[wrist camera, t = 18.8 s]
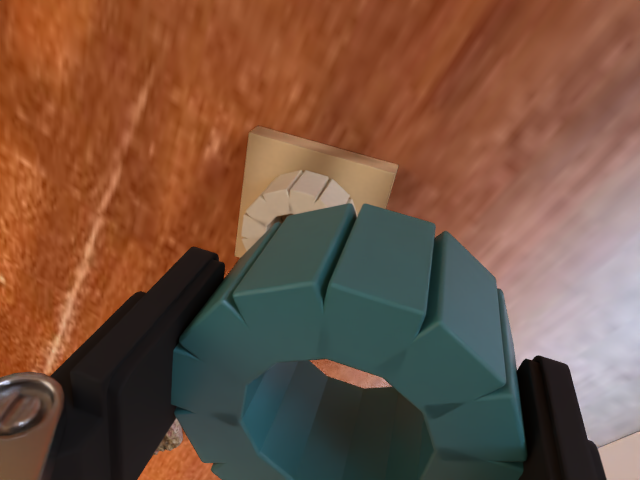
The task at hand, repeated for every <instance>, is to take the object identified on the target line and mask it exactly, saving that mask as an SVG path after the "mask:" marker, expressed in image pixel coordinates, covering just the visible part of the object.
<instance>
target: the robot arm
mask: <svg viewBox="0 0 640 480" xmlns="http://www.w3.org/2000/svg"><path fill="white" fill-rule="evenodd" d="M224 271H225V264H224V263H223V262H220V261H219V257H218V255H217V254H216V253H213V252H210V251H207V250H203V249H200V248H197V247H191V248H190V249H189V250H188V251H187V252H186V253H185V254H184V255H183V256H182V257H181V258H180V259H179V260H178V261H177V262H176V263H175V264H174V265H173V266H172V267H171V268H170V269H169V271H168V272H167V273H166V274H165V275H164V276H163V277H162V278H161V279H160V280H159V281H158V282H157V283H156V284H155V285H154V286H153V287H152V288H151V289H150V290H149V291H148V292H147V293H144V292H141V291H140V292H137V293H135V294H134V295H132V296H131V297H130V298H129V299H128V300H127V301H126V302H125V303H124V304H123V305H122V306H121V307H120V308H119V309H118V310H117V311H116V312H115V313H114V314H113V315H112V316H111V317H110V318H109V319H108V320H107V321H106V322H105V323H104V324H103V325H102V326H101V327H100V328H99V329H98V330H97V331H96V332H95V333H94V334H93V335H92V336H91V337H90V338H89V339H88V340H87V341H86V342H85V343H84V344H83V345H81V346H80V347H79V348H78V349H77V350H76V351H75V352H74V353H73V354H72V355H71V356H70V357H69V358H68V359H67V360H66V361H65V362H64V363H63V364H62V365H61V366H60V367H59V368H58V369H57V370H56V371H55V372H54V373H53V374H52V375H51V376H47V375H45V374H42V373H34V372H24V373H14V374H11V375H7V376H4V377H1V378H0V480H137V479H138V477H139V476H140V474H141V473H142V471H143V470H144V468H145V466H146V465H147V463H148V462H149V460H150V459H151V457H152V455H153V454H154V452H155V451H156V449H157V448H158V446H159V444H160V443H161V441H162V440H163V438H164V437H165V435H166V433H167V432H168V430H169V429H170V427H171V426H172V424H173V423H174V421H175V419H176V416H175V415H174V410H175V409H176V407H177V406H174V405H172V404H171V387H172V366H173V350H174V349H175V347H176V346H177V345H178V343H179V338H180V336H181V334H182V333H183V332H184V330H185V329H186V328H187V327H188V325H189V324H190V323H191V321H192V320H193V319H194V317H195V316H196V315H197V314H198V312H199V311H200V310H201V308H202V307H203V306H204V305H205V303H206V302H207V301H208V299H209V298H210V297H211V295H212V294H213V293H214V292H215V290H216V289H217V288H218V286H219V285H220V284H221V282H222V281H223V280H224ZM517 375H518V383H519V391H520V398H521V406H522V413H523V421H524V429H525V436H526V444H527V452H528V457H527V460H526V461H524V462H523V468H524V469H523V473H522V475H521V476H520V478H519V479H518V480H607V479H606V475H605V472H604V468H603V464H602V461H601V457H600V454H599V451H598V449H597V446H596V445H595V444H594V443H593V442H592V441H590V440H588V438H587V435H586V431H585V427H584V423H583V419H582V415H581V412H580V408H579V404H578V400H577V396H576V393H575V389H574V385H573V381H572V377H571V373H570V370H569V367H568V365H566V364H564V363H561V362H558V361H555V360H552V359H549V358H545V357H542V356H536V357H534V359H533V360H528V359H525V360H524V361H523V362H522V363H521V365H520V367H519V369H518V370H517Z"/></svg>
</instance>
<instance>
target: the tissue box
mask: <svg viewBox="0 0 640 480" xmlns="http://www.w3.org/2000/svg"><path fill="white" fill-rule="evenodd" d="M597 449H598V451H599V454H600V457H601V461H602V464H603V468H604V472H605V475H606V479H607V480H640V431H639V432H637V433H634V434H632V435H629V436H627V437H624V438H622V439H619V440H617V441H614V442H612V443H610V444H607V445H605V446H602V447H600V448H597Z"/></svg>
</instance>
